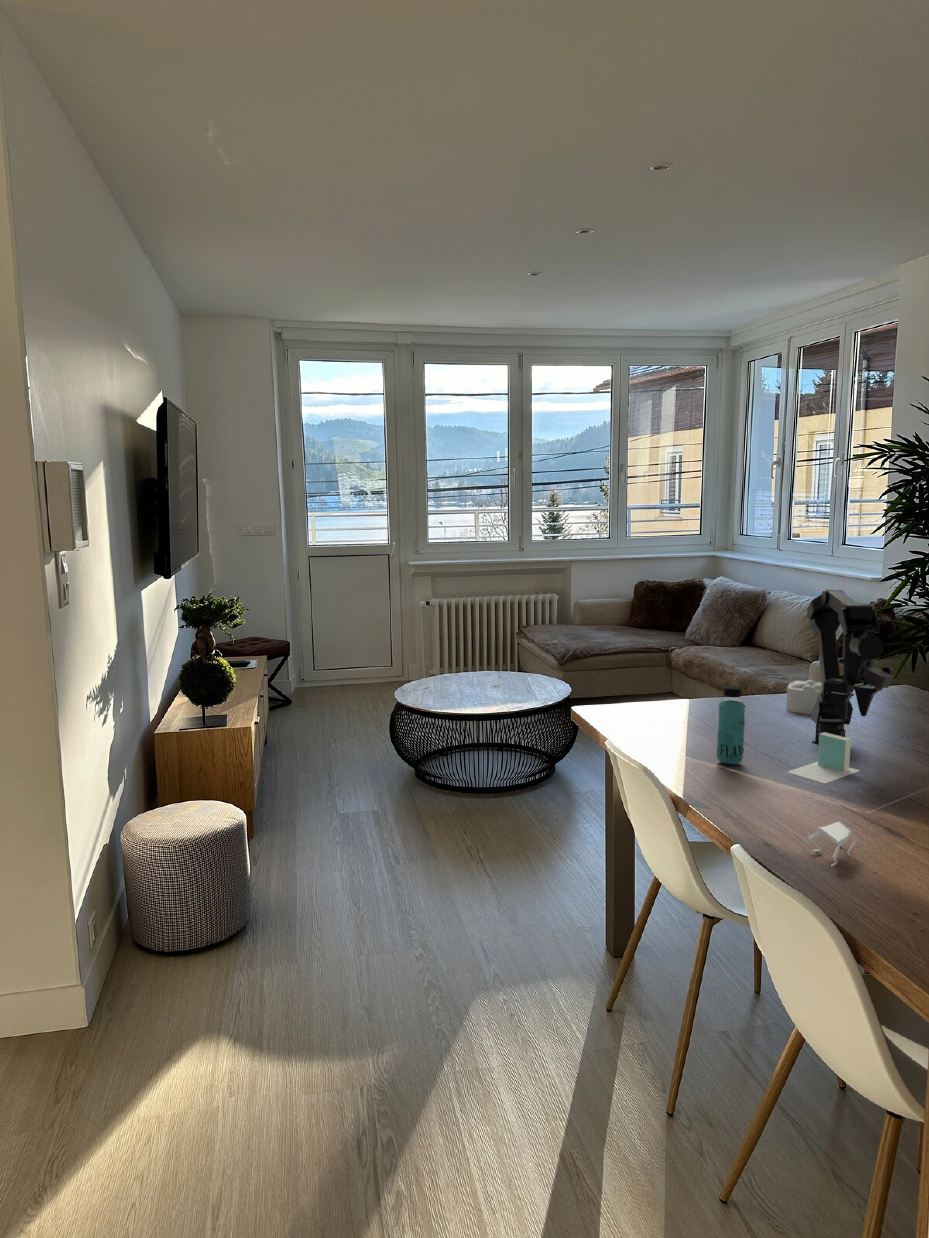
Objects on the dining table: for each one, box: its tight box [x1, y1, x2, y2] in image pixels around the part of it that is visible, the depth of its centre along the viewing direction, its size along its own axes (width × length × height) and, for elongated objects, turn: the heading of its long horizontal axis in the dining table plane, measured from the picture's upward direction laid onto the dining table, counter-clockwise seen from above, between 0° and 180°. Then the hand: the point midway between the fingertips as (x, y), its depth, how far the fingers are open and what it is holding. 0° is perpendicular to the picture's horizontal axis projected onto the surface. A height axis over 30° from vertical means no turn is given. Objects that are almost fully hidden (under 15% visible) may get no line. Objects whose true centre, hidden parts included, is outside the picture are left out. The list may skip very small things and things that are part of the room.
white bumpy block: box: [785, 679, 822, 715], centre depth 260 cm, size 10×13×9 cm
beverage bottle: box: [715, 685, 746, 765], centre depth 208 cm, size 6×7×20 cm
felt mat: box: [787, 761, 862, 784], centre depth 204 cm, size 10×15×1 cm, turn 125°
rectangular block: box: [817, 732, 852, 773], centre depth 205 cm, size 7×2×8 cm, turn 35°
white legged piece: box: [806, 821, 857, 867], centre depth 158 cm, size 12×8×5 cm
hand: (853, 718), depth 207 cm, fingers open, 9 cm apart
